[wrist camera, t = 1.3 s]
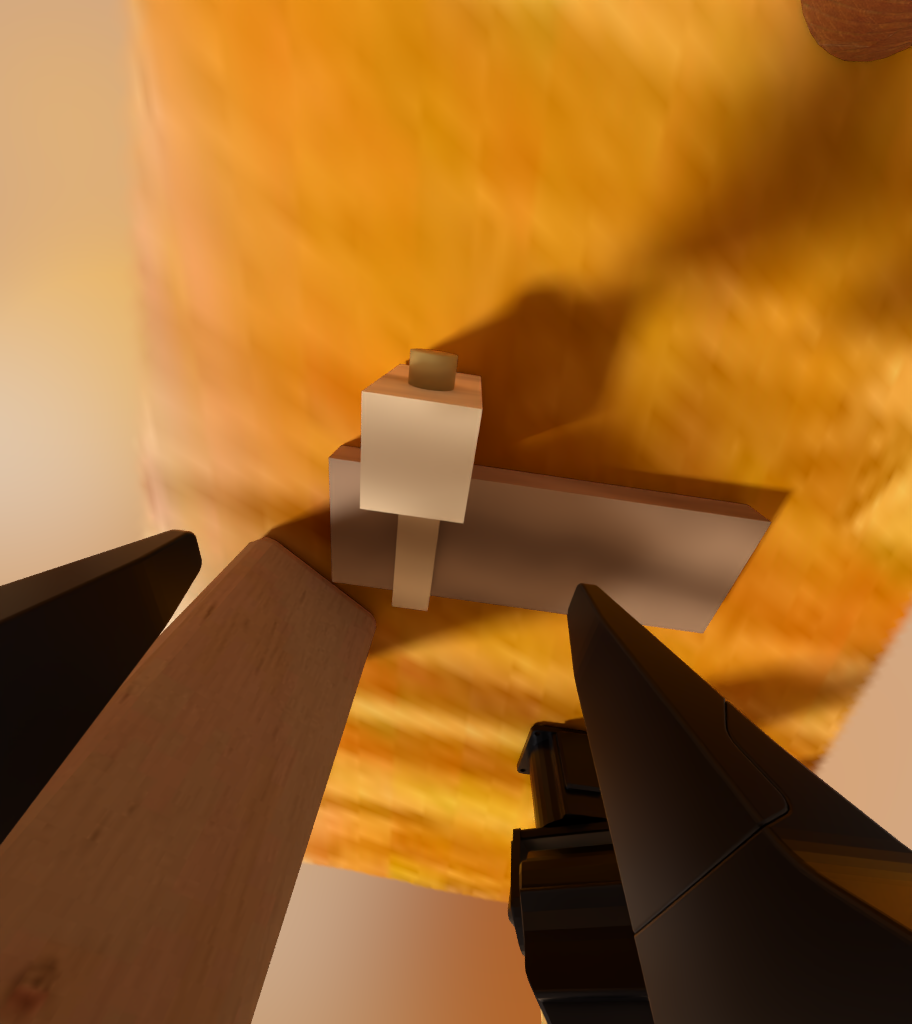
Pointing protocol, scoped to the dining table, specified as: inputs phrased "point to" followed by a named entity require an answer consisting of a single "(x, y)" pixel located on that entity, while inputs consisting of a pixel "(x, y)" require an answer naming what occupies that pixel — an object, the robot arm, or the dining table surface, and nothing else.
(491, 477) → the walnut board
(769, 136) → the dining table surface
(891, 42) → the disposable coffee cup
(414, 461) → the block
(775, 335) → the dining table surface
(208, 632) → the wooden block
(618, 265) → the dining table surface
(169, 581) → the robot arm
